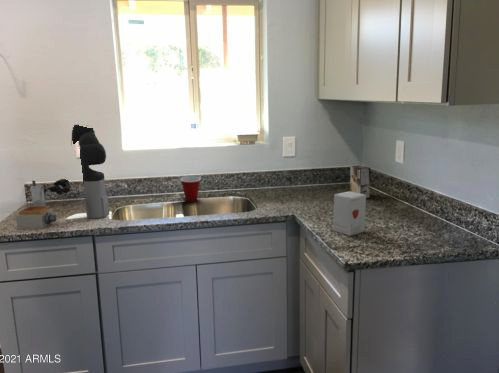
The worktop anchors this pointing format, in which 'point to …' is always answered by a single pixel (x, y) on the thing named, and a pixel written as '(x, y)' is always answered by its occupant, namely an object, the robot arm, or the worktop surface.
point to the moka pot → (37, 195)
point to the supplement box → (349, 213)
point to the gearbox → (35, 217)
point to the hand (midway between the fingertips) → (49, 192)
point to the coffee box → (360, 180)
